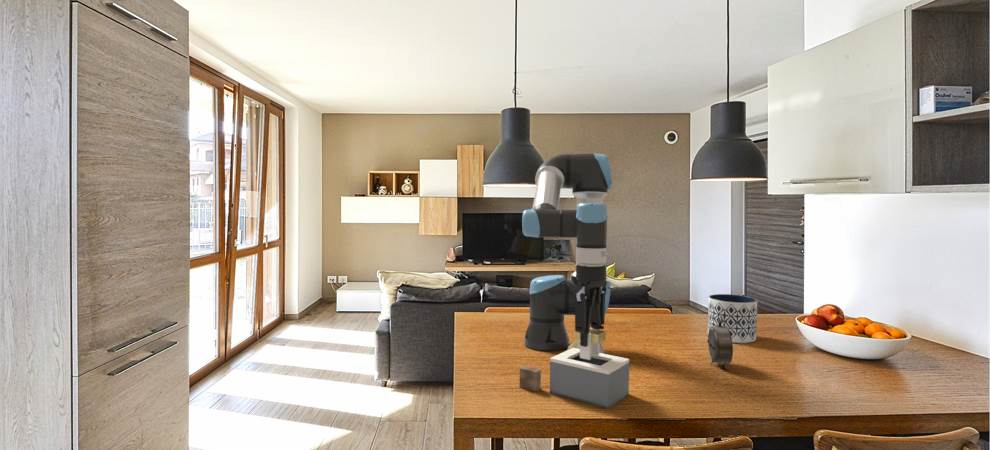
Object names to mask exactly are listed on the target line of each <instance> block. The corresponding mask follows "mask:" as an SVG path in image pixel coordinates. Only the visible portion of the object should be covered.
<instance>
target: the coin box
mask: <svg viewBox="0 0 990 450" xmlns="http://www.w3.org/2000/svg"><path fill="white" fill-rule="evenodd" d="M549 361H550V362H549V394H552V395H555V396H560V397H563V398H565V399H571V400H572V401H573V400H574V401H578V402H582V403H584V404H589V405H592V406H595V405H596V406H595V407H599V406H600V407H599V408H603V409H607V410H609V409H610V408H611V407H613V406H615V404H617V403H618V402H620V401H621V400H623V399H624V398H625V397H627V396H628V395H629V391H630V390H629V388H630V387H629V386H630V385H629V384H630V358H627V357H621V356H616V355H612V354H607V353H604V354H602V353H599V355H593V354H591V359H590V360H587V359H583V358H580V349H578V348H571V349H569V350H565V351H562V352H561V353H559V354H556V355H554V356H552V357H550V358H549Z"/></svg>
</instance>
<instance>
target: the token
mask: <svg viewBox="0 0 990 450" xmlns="http://www.w3.org/2000/svg"><path fill="white" fill-rule="evenodd" d="M589 333H591V342H593V343H600V344H601V343H603V342H604V341H606V331H605V330H601V329H599V330H594V329H590V332H589ZM574 339H575V340H576V341H577V340H580V333H579V332H576V331H575V330H574Z"/></svg>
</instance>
